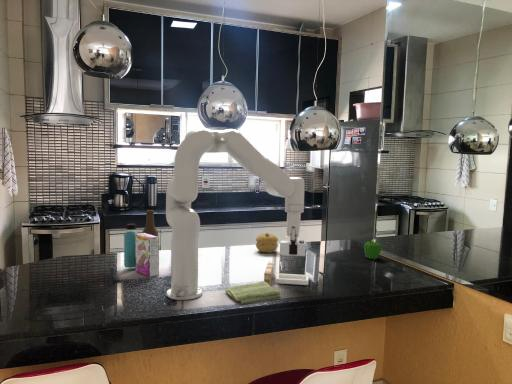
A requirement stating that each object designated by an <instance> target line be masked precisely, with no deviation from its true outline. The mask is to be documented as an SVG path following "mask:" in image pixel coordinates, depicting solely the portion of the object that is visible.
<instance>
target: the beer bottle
mask: <svg viewBox="0 0 512 384" xmlns="http://www.w3.org/2000/svg"><path fill="white" fill-rule="evenodd" d="M145 213H146V215H145V226H144V228H143V229H142V232H141V233H147V234H150V235H153V236H157V237H159V232H158V229H157V228H156V227H155V215H154V214H155V211H154V210H153V209H147V210H146V211H145Z"/></svg>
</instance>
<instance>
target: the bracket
mask: <svg viewBox="0 0 512 384" xmlns="http://www.w3.org/2000/svg"><path fill="white" fill-rule="evenodd" d="M275 276H276V277H275V284H282V285H283V284H285V285H286V284H287V285H298V286H299V285H302V286H303V285H304V286H309V274H293V273H276V275H275Z"/></svg>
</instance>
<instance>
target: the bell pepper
mask: <svg viewBox="0 0 512 384" xmlns="http://www.w3.org/2000/svg"><path fill="white" fill-rule="evenodd" d="M363 250H364V256H365V258H367V259H370V260H377V259H378V258H379V257H380V255H381V252H382V245H381V242H380V243H379V242H376V241H375V239H372V240H371V241H366V242H364V245H363Z"/></svg>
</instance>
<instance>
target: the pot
mask: <svg viewBox="0 0 512 384" xmlns="http://www.w3.org/2000/svg"><path fill="white" fill-rule="evenodd" d="M278 241H279V239H278V237H277V235H275V234H270V233H268V232H266V233H263V234H259V235H258V236H256V238H255V242H256V243H255V247H256V249H257V250H258V251H260V252H262V253H267V254H269V253H272V252H275V251H276V250H277V248H278V246H279V244H278Z"/></svg>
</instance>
